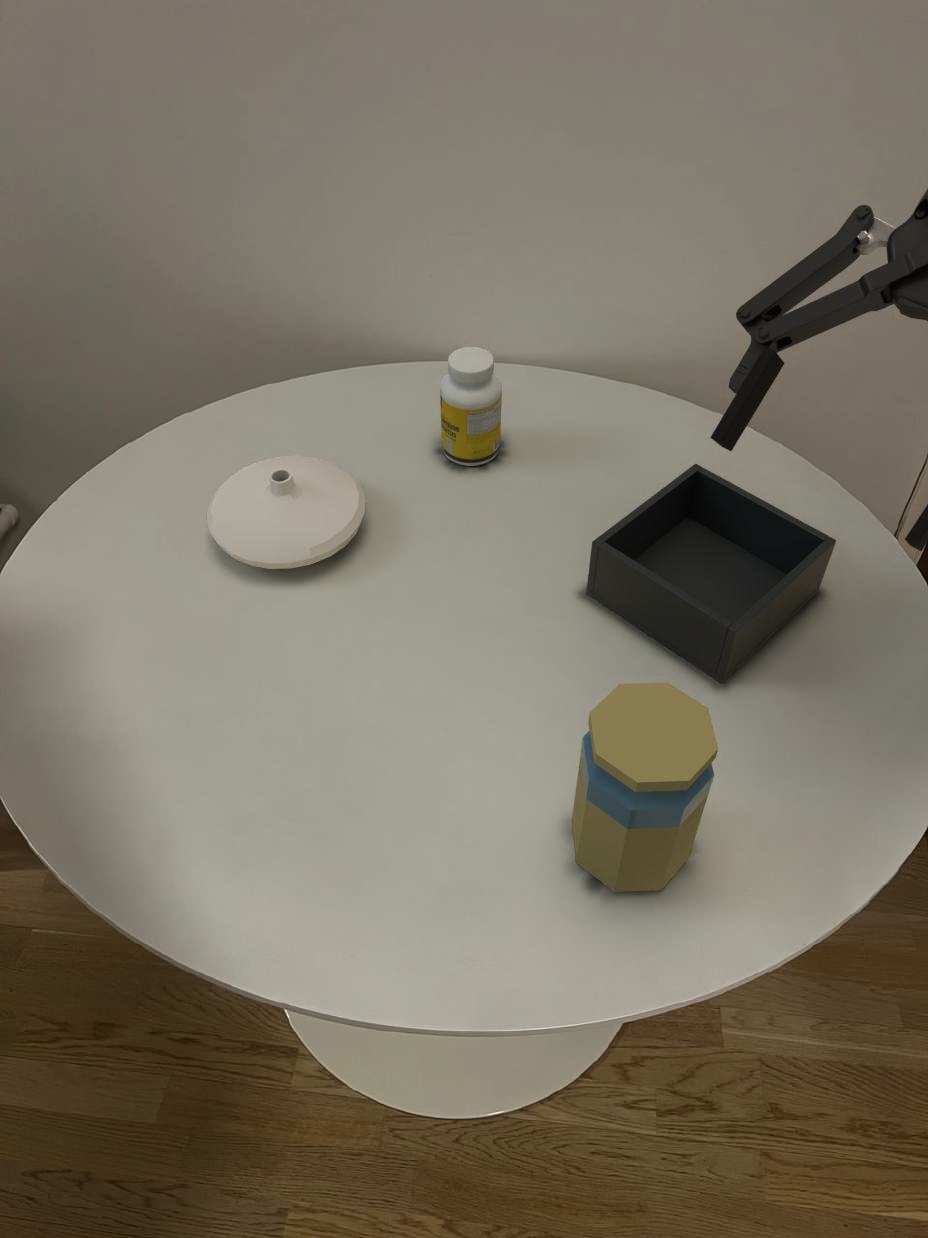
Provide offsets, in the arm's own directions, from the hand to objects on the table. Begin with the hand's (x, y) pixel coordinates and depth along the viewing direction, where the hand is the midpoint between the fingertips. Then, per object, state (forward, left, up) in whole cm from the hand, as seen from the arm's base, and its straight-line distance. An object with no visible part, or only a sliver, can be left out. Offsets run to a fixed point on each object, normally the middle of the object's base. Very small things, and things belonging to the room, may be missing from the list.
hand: (811, 493), depth 63 cm
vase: (+47, +9, -28) cm, 56 cm away
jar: (0, +13, -28) cm, 31 cm away
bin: (+12, -13, -28) cm, 33 cm away
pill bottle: (+43, -13, -28) cm, 53 cm away
